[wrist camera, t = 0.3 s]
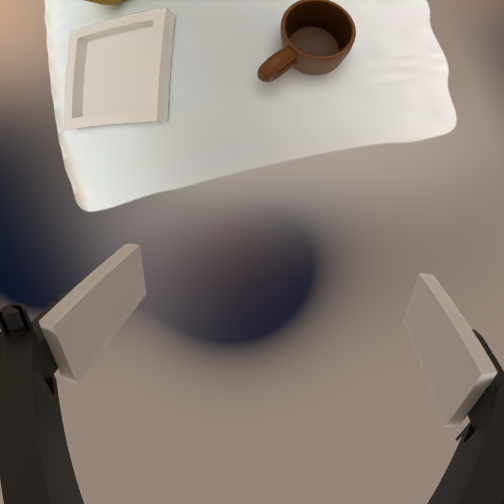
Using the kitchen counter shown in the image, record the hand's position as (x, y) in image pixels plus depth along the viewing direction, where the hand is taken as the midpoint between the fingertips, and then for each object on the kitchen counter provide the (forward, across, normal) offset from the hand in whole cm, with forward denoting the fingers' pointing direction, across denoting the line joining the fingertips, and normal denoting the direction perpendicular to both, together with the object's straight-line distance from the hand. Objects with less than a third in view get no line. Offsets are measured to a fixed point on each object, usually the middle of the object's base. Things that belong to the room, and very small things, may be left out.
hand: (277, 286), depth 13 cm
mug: (+28, 0, +16) cm, 32 cm away
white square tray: (+27, -24, +15) cm, 40 cm away
